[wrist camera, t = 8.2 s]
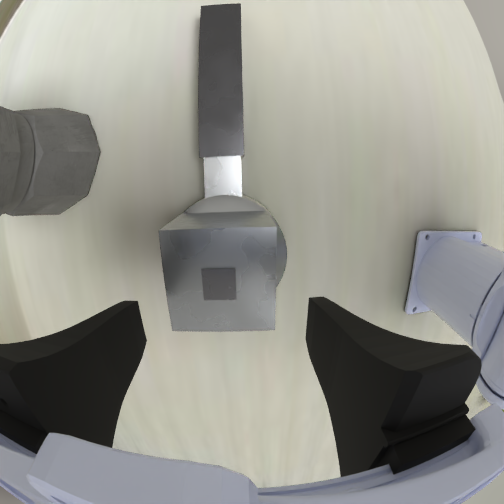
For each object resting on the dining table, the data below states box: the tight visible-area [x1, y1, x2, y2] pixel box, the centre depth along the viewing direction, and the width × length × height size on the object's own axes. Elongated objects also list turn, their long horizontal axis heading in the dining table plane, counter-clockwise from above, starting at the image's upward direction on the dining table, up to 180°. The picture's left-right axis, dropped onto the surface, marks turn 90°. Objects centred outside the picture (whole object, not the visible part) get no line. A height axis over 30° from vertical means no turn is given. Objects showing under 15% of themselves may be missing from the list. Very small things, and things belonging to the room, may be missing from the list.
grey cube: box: [159, 211, 277, 331], centre depth 15 cm, size 5×5×5 cm
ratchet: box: [183, 4, 287, 287], centre depth 16 cm, size 8×22×5 cm, turn 1°
